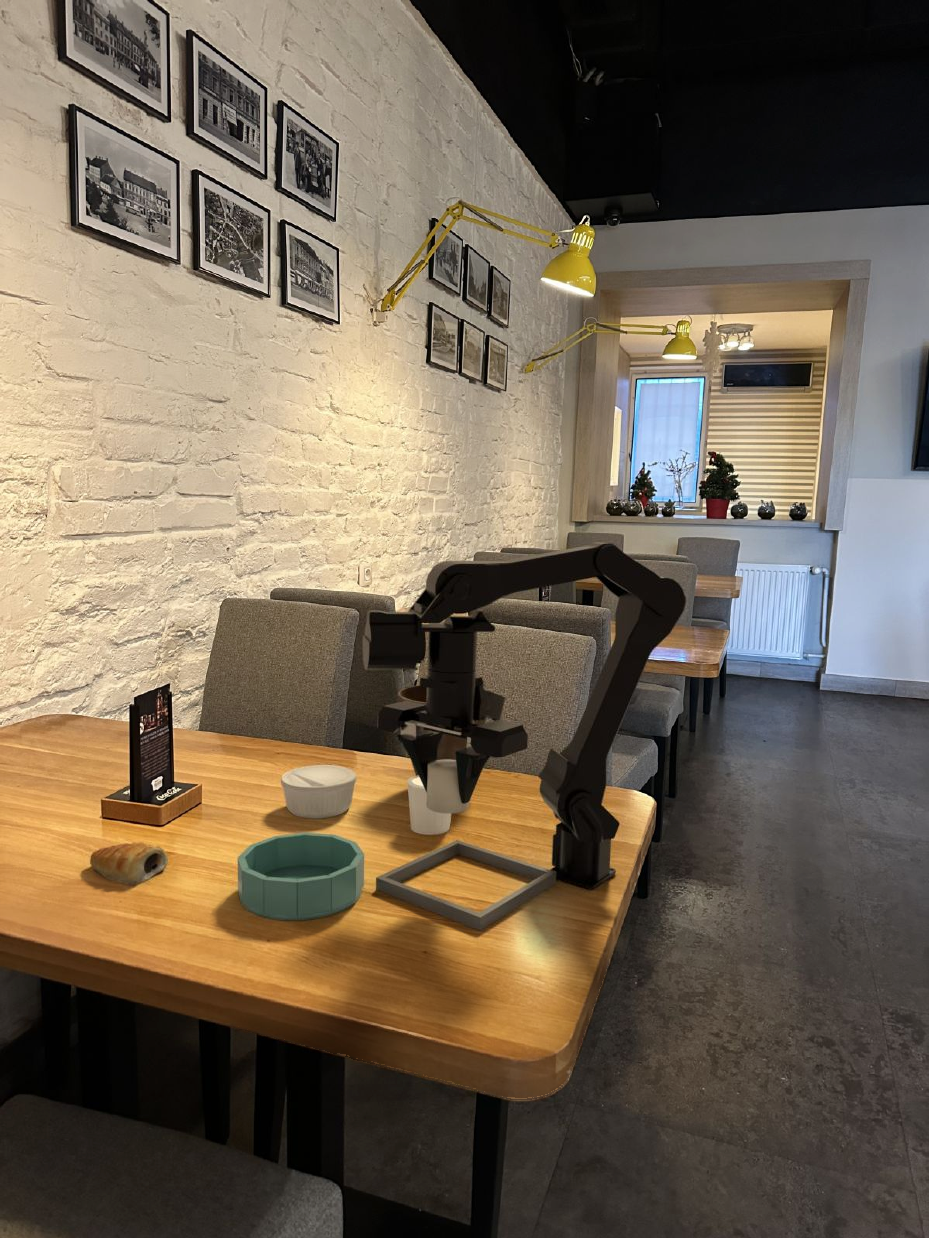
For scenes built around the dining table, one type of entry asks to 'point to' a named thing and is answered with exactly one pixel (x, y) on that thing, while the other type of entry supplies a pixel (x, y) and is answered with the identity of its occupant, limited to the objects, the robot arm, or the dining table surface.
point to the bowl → (300, 876)
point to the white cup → (424, 811)
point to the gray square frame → (456, 912)
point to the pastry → (129, 862)
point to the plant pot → (447, 741)
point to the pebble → (444, 787)
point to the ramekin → (318, 790)
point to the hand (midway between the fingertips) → (447, 797)
